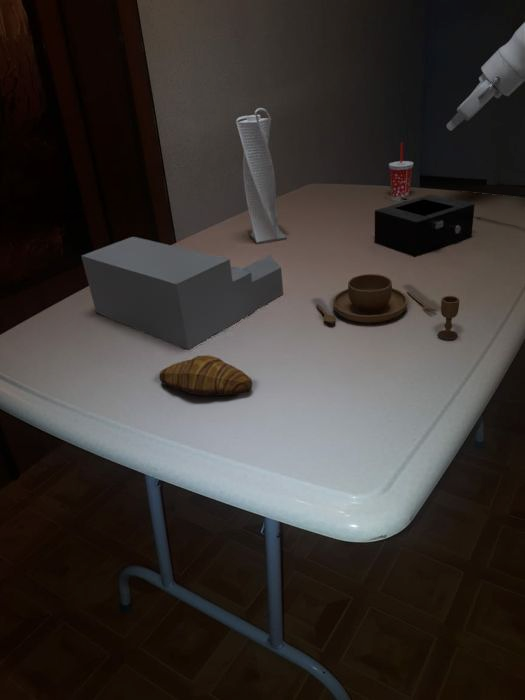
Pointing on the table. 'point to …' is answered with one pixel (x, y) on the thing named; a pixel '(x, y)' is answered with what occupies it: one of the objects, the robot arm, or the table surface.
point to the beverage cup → (400, 178)
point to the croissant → (206, 377)
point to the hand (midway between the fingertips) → (452, 124)
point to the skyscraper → (259, 178)
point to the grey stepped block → (177, 289)
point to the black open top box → (423, 224)
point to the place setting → (383, 303)
